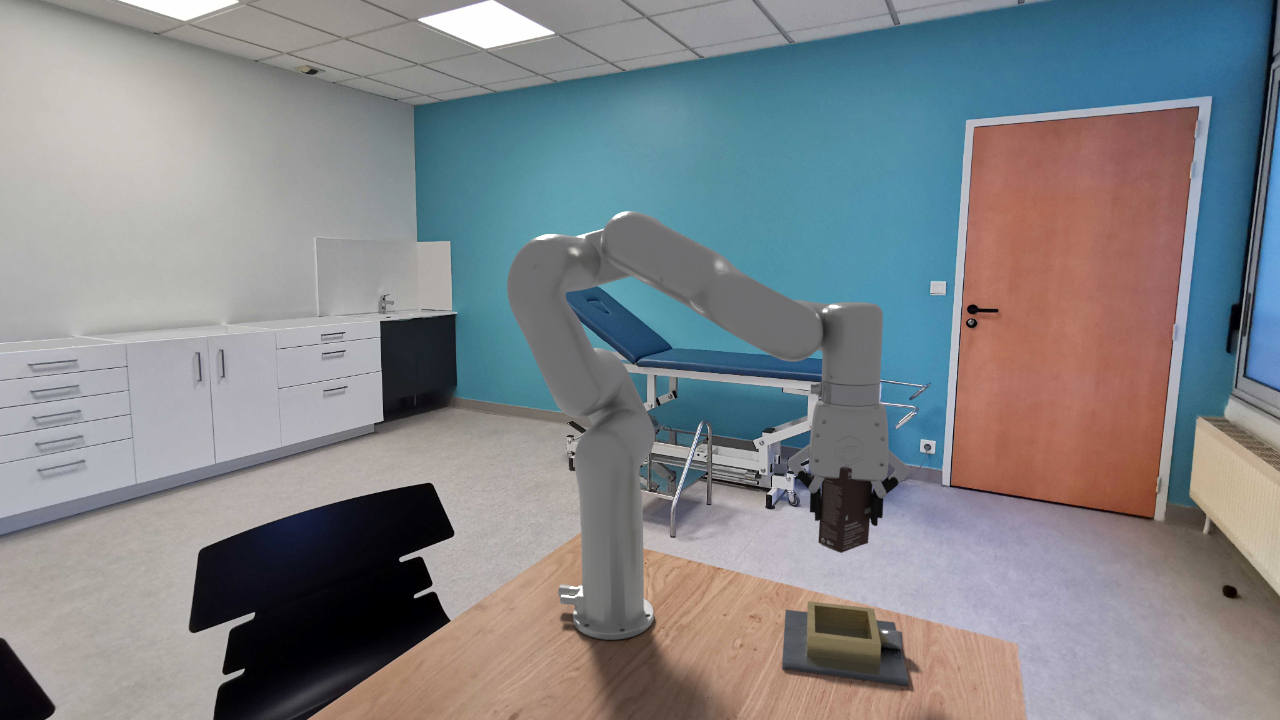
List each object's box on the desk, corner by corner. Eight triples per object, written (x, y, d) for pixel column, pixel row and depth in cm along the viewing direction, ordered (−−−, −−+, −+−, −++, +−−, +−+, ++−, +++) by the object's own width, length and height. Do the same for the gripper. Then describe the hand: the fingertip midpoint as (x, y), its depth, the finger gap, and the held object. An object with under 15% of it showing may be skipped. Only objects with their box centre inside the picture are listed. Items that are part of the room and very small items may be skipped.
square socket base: (782, 668, 89) (782, 641, 88) (785, 615, 102) (786, 591, 102) (907, 686, 85) (909, 657, 84) (894, 628, 98) (895, 603, 98)
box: (843, 555, 88) (846, 469, 86) (817, 543, 92) (819, 460, 90) (872, 544, 91) (875, 461, 89) (845, 533, 95) (848, 453, 93)
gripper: (783, 396, 87) (780, 524, 89) (923, 402, 83) (916, 536, 85) (785, 386, 94) (782, 505, 97) (914, 391, 90) (907, 515, 92)
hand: (845, 518), depth 91 cm, fingers closed on box, 6 cm apart
